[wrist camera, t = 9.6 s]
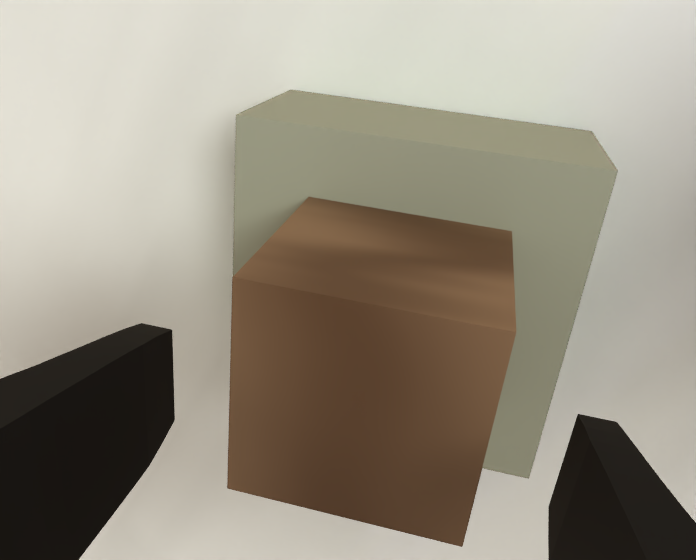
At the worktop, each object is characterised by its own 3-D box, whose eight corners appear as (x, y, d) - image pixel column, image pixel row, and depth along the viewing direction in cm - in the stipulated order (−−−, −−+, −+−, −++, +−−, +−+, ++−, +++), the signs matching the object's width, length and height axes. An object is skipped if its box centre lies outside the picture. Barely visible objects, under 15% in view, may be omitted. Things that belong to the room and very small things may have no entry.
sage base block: (591, 131, 16) (617, 170, 12) (523, 390, 19) (528, 478, 16) (290, 89, 17) (235, 114, 14) (276, 339, 21) (230, 411, 17)
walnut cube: (511, 231, 13) (515, 332, 9) (472, 402, 15) (462, 547, 11) (309, 196, 14) (232, 276, 10) (295, 365, 16) (227, 487, 12)
